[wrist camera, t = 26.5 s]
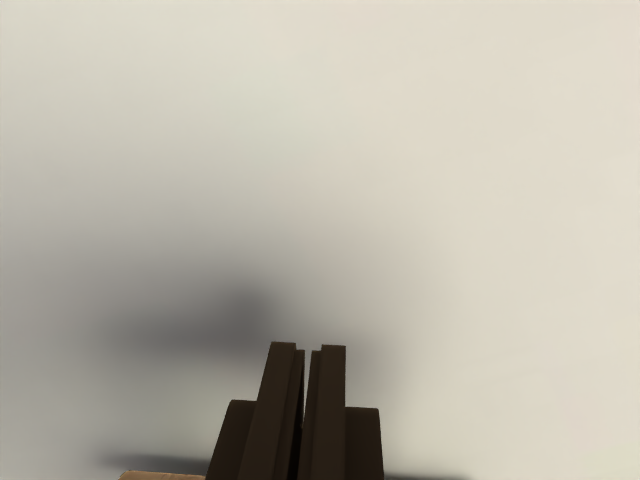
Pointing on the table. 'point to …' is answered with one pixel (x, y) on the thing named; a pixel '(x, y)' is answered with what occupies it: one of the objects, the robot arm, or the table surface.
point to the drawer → (157, 476)
